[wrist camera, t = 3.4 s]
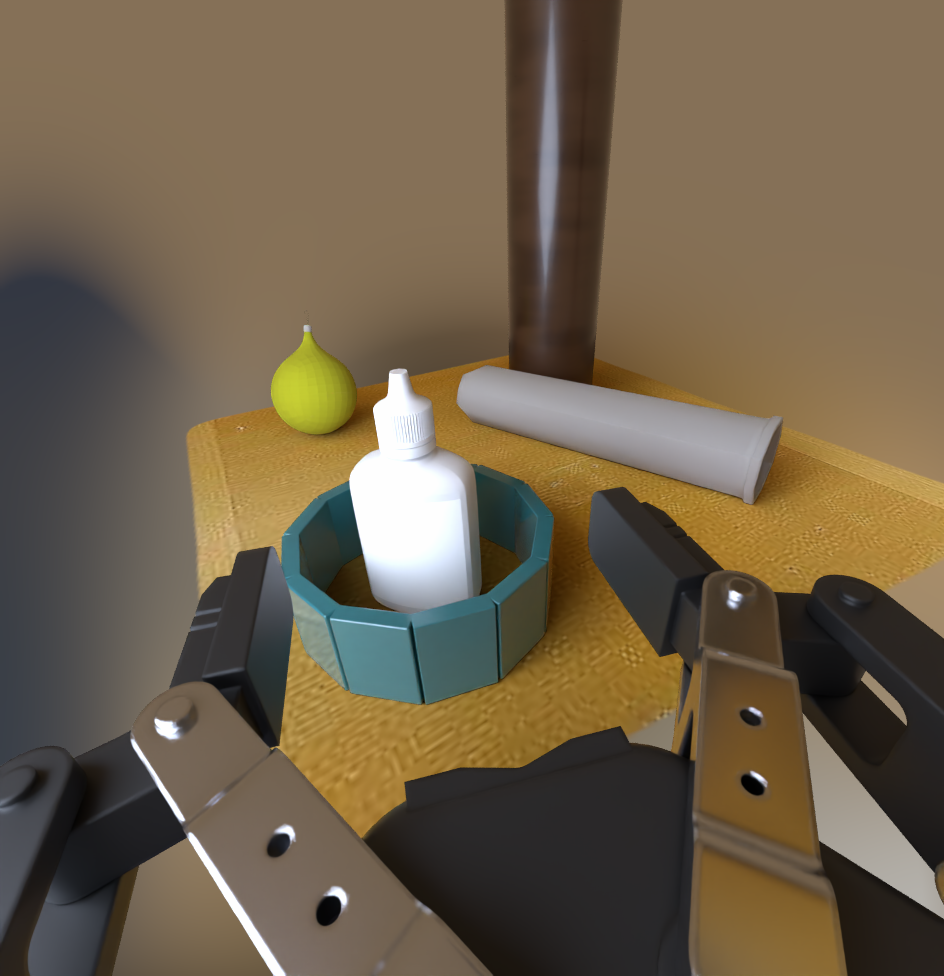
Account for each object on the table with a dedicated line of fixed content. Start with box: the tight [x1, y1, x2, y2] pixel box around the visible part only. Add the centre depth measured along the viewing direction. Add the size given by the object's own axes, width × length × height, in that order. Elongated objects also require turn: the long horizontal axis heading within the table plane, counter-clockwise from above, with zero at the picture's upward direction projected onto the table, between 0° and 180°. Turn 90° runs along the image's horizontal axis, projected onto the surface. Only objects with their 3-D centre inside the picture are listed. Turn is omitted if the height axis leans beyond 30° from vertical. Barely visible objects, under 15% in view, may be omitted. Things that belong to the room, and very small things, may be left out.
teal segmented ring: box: [281, 464, 554, 705], centre depth 25 cm, size 13×13×4 cm
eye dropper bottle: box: [350, 369, 482, 614], centre depth 23 cm, size 4×6×12 cm
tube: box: [457, 365, 783, 505], centre depth 38 cm, size 5×5×25 cm
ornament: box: [271, 325, 357, 435], centre depth 42 cm, size 7×7×10 cm
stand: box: [505, 0, 622, 385], centre depth 41 cm, size 8×8×30 cm
